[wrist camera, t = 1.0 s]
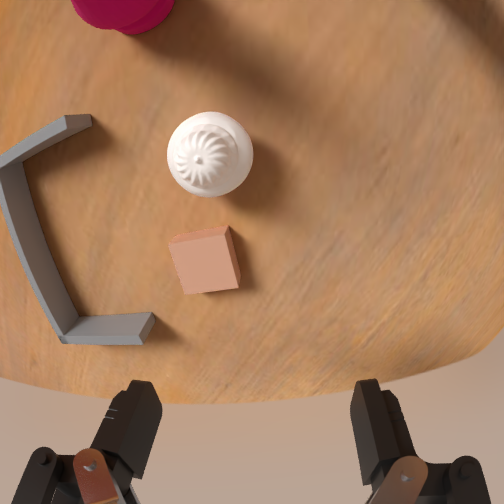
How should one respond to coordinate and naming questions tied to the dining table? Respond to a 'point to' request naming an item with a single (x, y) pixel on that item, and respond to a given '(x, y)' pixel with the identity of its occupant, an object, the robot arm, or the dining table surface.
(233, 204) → the dining table surface
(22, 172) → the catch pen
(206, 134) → the white rounded ceramic piece
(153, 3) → the pepper mill
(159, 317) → the dining table surface
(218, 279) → the block
